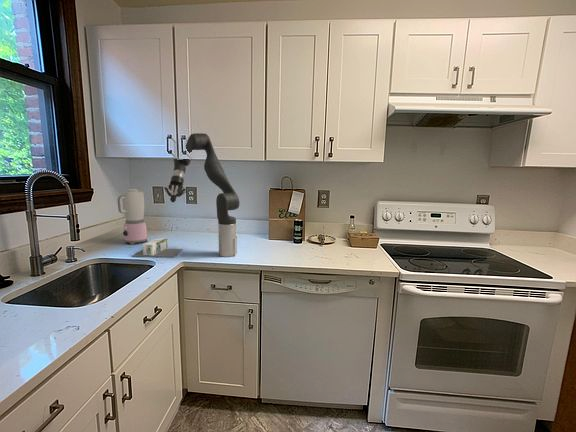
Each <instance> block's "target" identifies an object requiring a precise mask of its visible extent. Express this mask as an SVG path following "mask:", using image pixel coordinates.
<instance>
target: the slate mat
mask: <svg viewBox="0 0 576 432" xmlns="http://www.w3.org/2000/svg"><path fill="white" fill-rule="evenodd" d="M182 251H183V248H167V249H165V250H163V251H161V252H159V253H157V254H155V255H153V256H152V255H143V248H142V249H141V250H139V251H137V252H136V253H134V254H132V255H131V257H132V258H170V259H171V258H172V259H173V258H176V256H177V255H178V254H179V253H181V252H182Z"/></svg>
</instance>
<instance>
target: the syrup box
mask: <svg viewBox="0 0 576 432" xmlns="http://www.w3.org/2000/svg"><path fill="white" fill-rule="evenodd" d="M168 239H169V238H163V237H157V238H155V239H152V240H150V241H149V242H148V241H147V242H146V243H143V244H142V249H143V255H152V256H153V255H155V254H157V253H159V252H161V251H163V250H165V249H169V245H168V244H169V242H168V241H169V240H168Z"/></svg>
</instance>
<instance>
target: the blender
mask: <svg viewBox="0 0 576 432" xmlns="http://www.w3.org/2000/svg"><path fill="white" fill-rule="evenodd" d="M117 208H118V212H119V213H120V214H124V218H125V222H124V224H123V231H122V235H123V236H124V244H127V243H129V244H130V245H131V246H133V245H135V244H137V243H142V242H146V243H148V231H147V223H146V222H145V219H144V217H145V195H144V191H141V190H139V189H134V188H132V189H127V191H123V192H122V193H121V195H120V196H118V197H117Z"/></svg>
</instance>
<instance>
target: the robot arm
mask: <svg viewBox="0 0 576 432" xmlns="http://www.w3.org/2000/svg"><path fill="white" fill-rule="evenodd" d="M185 146H186V149H187V151H188V152H189V153H190V152H192V150H195V151H205V153H206V158H205V160H204V164H203V168H204V171H205V173H206V176H207V177H208V179H209V181H211V183H213V185H215V186H217V187H218V188H219V189H220V191H221V192H222V193H218V194H217V197H216V201H215V205H216V217H217V222H218V223H217V226H218V256H220V257H225V258H226V257H227V258H229V257H236V255H237V253H238V248H237V247H238V243H237V242H238V238H237V237H238V236H237V219H236V217H234V216H231V215H229V211H234V210H238V209H239V208H240V204H241V203H240V198H239V196H238V194H237V192H236V190H235V189H234V188H233V186H232V184H231V182H230V181H229V179H228V177H227V175H226V173H225V170H224V168H223V167H222V164H221V162H220V161H219V158H218V156H217V153H216V152H215V149H214V146H213V143H212V141H211V139H210V137H209V135H208V134H207V133H204V132H203V133H200V132H199V133H197V132H196V133H195V132H194V133H191V134H190V135H189V136H188V139H187V141H186V143H185ZM191 160H192V159H191ZM191 160H189V159H183V160H177V159H174V158H173V172H172V174H171V177H170V182H169V185H168V186H166V187H165V186H164V188H163V189H164V191H165V192H166V194H167V196H168V197H170V198H169V199H170V202H171V203H175V202H176V201H177V197H178V198H180V197H182V195H184V194H185V193H186V192H187V190H186V188H184V186H183V185H184V182H185V177H186V170H187V168H186V167H188V166H189V165H190V163H191ZM169 190H170V191H169Z"/></svg>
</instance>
